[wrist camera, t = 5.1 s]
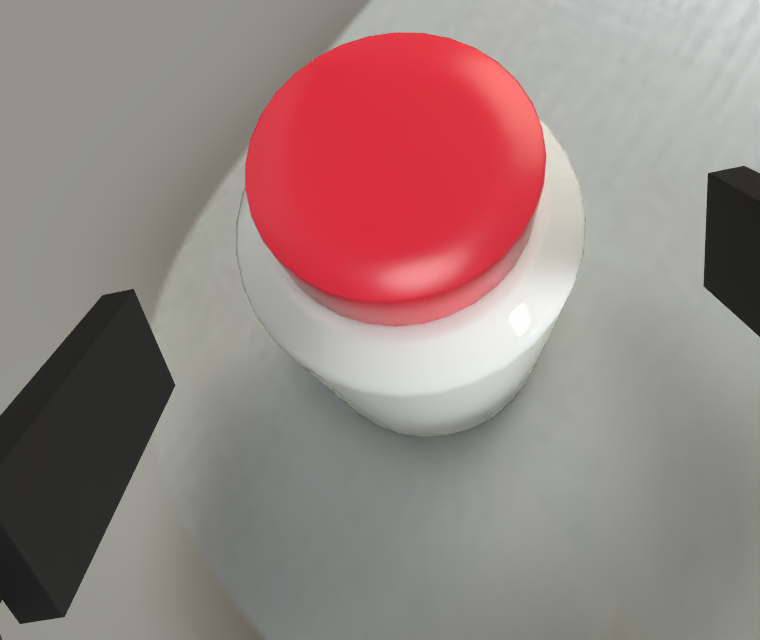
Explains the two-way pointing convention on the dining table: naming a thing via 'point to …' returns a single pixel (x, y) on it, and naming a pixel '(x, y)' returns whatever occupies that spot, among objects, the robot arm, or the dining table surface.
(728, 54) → the dining table surface
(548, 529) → the dining table surface
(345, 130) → the pill bottle
